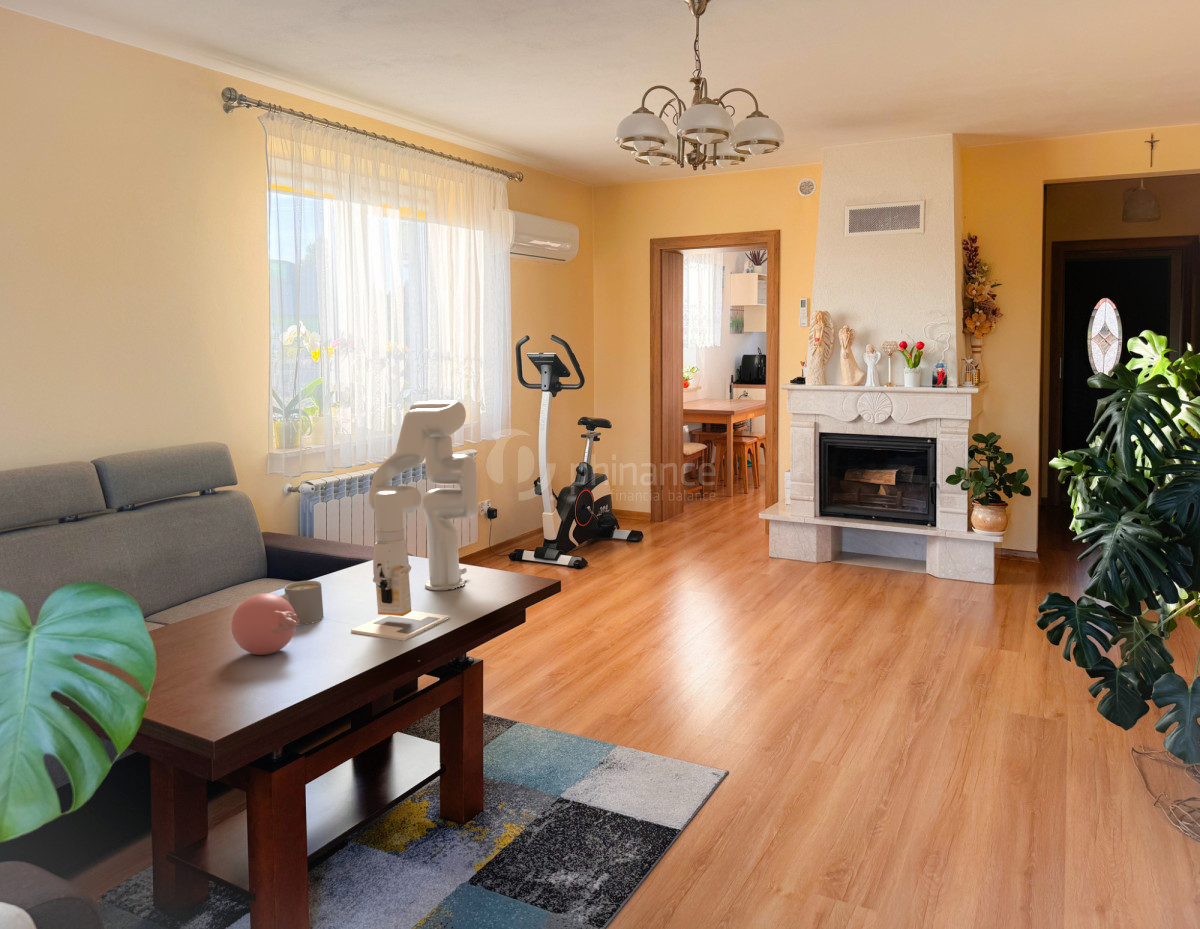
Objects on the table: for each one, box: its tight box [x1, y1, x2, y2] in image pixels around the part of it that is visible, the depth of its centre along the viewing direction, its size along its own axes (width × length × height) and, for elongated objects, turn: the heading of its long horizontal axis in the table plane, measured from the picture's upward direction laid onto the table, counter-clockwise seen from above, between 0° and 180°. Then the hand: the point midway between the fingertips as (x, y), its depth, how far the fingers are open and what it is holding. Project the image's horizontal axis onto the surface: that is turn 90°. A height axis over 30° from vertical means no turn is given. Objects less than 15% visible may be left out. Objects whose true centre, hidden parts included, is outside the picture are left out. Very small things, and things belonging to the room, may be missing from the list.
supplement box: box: [375, 566, 412, 616], centre depth 239 cm, size 8×5×13 cm, turn 71°
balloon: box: [230, 592, 299, 656], centre depth 218 cm, size 15×20×15 cm
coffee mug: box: [279, 580, 324, 625], centre depth 247 cm, size 13×10×10 cm
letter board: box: [350, 610, 450, 642], centre depth 240 cm, size 20×18×1 cm
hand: (394, 599), depth 240 cm, fingers closed on supplement box, 5 cm apart
